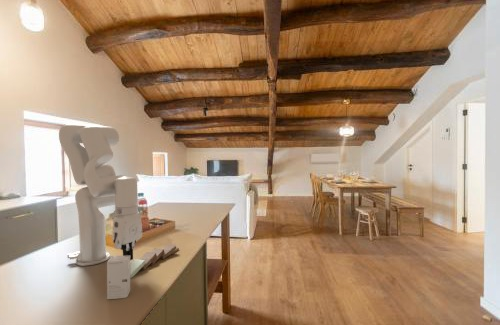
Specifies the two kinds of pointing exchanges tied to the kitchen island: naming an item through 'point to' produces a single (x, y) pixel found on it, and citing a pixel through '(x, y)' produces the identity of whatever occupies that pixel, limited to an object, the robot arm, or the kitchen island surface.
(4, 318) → the kitchen island surface
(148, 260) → the tile
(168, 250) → the tile
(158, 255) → the tile
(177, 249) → the tile
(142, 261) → the sage tile
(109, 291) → the skincare box
